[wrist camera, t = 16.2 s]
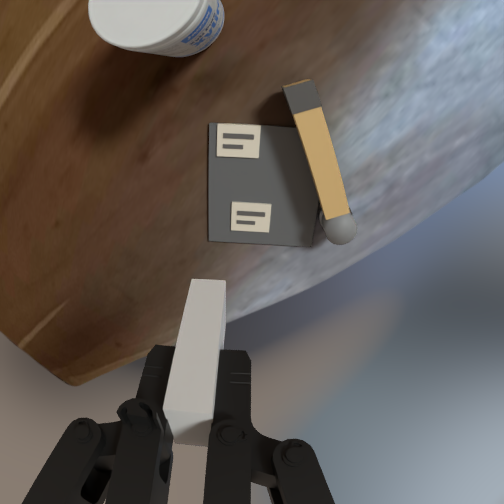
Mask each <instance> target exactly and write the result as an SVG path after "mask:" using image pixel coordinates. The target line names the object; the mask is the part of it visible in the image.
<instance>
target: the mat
mask: <svg viewBox="0 0 504 504" xmlns="http://www.w3.org/2000/svg"><path fill="white" fill-rule="evenodd" d="M218 124H225V123H209V241H218V242H236V243H253V244H270V245H287V246H303V247H311V245H312V239H313V233H314V227H315V221H316V215H317V208H318V202H319V198H318V194H317V191H316V187H315V184H314V181H313V177H312V174H311V171H310V168H309V164H308V161H307V158H306V155H305V152H304V149H303V146H302V142H301V139H300V136H299V133H298V130H297V128H294V127H283V126H270V125H261V131H260V146H259V158H246V157H224V156H217V127H218ZM244 125H247V124H244ZM232 202H249V203H266V204H271V216H270V227H269V232H252V231H235V230H231V214H232Z"/></svg>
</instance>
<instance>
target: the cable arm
mask: <svg viewBox="0 0 504 504" xmlns="http://www.w3.org/2000/svg"><path fill="white" fill-rule="evenodd" d="M282 90H283V93H284V96H285V98H286V101H287V104H288V107H289V110H290V112H291V113H292V116H293V119H294V121H295V124H296V127H297V130H298V133H299V136H300V139H301V142H302V146H303V149H304V152H305V155H306V158H307V161H308V164H309V168H310V171H311V174H312V177H313V181H314V184H315V187H316V191H317V194H318V198H319V201H320V205H321V208H322V211H323V215H322V220H321V221H322V225H323V228H324V231H325V234H326V237H327V239H328V240H329V241H330V242H331V243H333V244H337V245H343V244H346V243H349V242H350V241H351V240H353V238H354V237H355V236H356V233H357V224H356V222H355V220H354V218H353V217H352V215H351V213H350V211H349V206H348V202H347V198H346V194H345V190H344V186H343V182H342V178H341V174H340V170H339V167H338V163H337V159H336V156H335V152H334V149H333V145H332V142H331V138H330V135H329V131H328V128H327V125H326V121H325V118H324V115H323V112H322V109H321V106H322V105H321V102H320V99H319V96H318V93H317V90H316V87H315V84H314V81H313V80H312V79H306V80H302V81H299V82H295V83H292V84H288V85H285V86H282Z"/></svg>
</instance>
